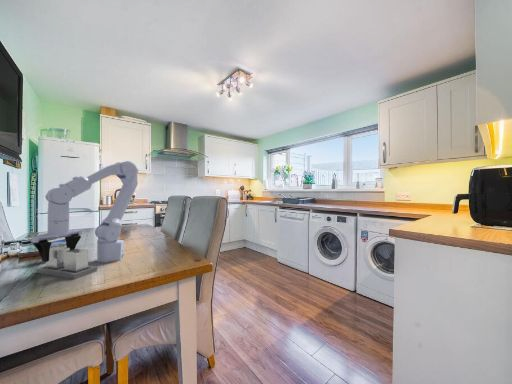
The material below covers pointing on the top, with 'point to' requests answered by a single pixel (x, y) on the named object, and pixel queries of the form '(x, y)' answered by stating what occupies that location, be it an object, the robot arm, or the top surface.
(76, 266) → the billet
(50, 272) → the grey flat frame
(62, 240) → the medicine box
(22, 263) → the top surface
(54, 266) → the block
